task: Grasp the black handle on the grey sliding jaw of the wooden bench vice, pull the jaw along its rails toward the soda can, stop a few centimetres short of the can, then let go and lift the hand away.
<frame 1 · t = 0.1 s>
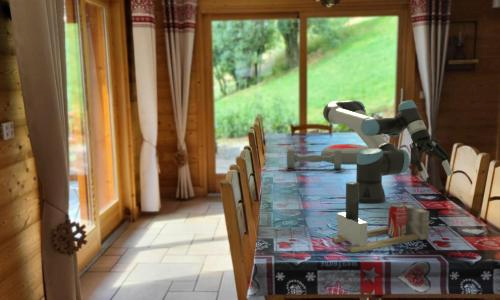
hand: (438, 176, 194), 15 cm above the table, tool tilted 35°, fingers open, 13 cm apart
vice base: (379, 239, 165), on the table
vice jaw: (352, 212, 158), point 12 cm above the table, slide at 0.0 cm
soda can: (396, 236, 168), resting in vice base
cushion: (347, 159, 322), on the table
dumbbell: (314, 168, 291), on the table
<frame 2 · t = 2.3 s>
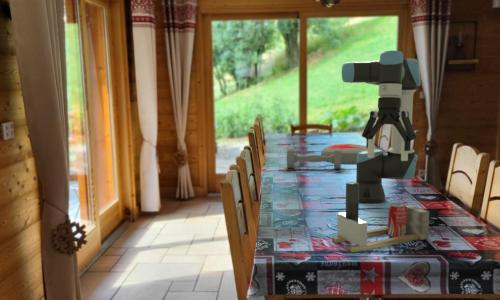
hand: (386, 159, 158), 30 cm above the table, tool pointing down, fingers open, 13 cm apart
nothing on the table moved.
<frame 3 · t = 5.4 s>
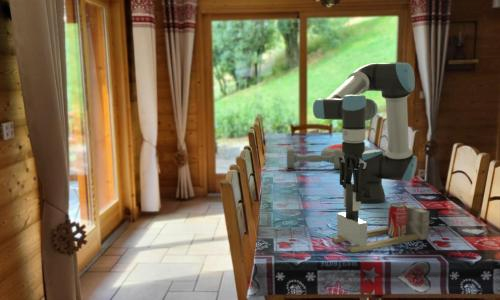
hand: (352, 208, 158), 13 cm above the table, tool pointing down, fingers closed on vice jaw, 4 cm apart
vice jaw: (352, 212, 158), point 12 cm above the table, slide at 0.0 cm, touching gripper
everything else where it was.
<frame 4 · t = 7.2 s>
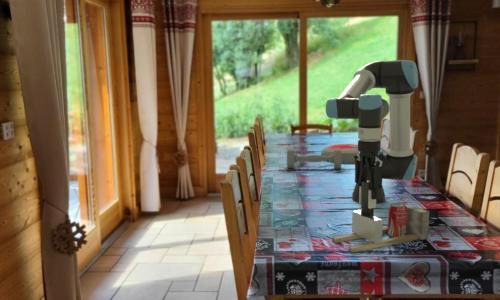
hand: (367, 205, 161), 13 cm above the table, tool pointing down, fingers closed on vice jaw, 4 cm apart
vice jaw: (367, 209, 161), point 12 cm above the table, slide at 6.4 cm, touching gripper
everything else where it was.
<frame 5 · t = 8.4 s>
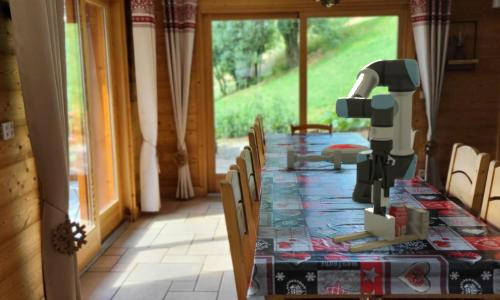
hand: (379, 203, 163), 13 cm above the table, tool pointing down, fingers closed on vice jaw, 4 cm apart
vice jaw: (379, 207, 163), point 12 cm above the table, slide at 11.7 cm, touching gripper
everything else where it was.
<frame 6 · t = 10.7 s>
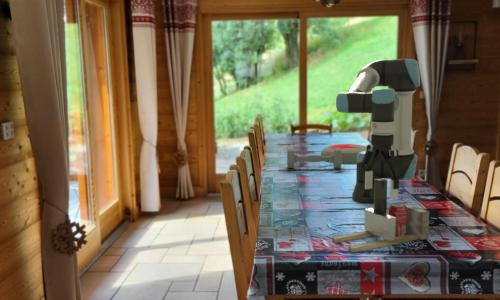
hand: (380, 193, 163), 17 cm above the table, tool pointing down, fingers open, 13 cm apart
vice jaw: (380, 207, 163), point 12 cm above the table, slide at 12.0 cm
everything else where it was.
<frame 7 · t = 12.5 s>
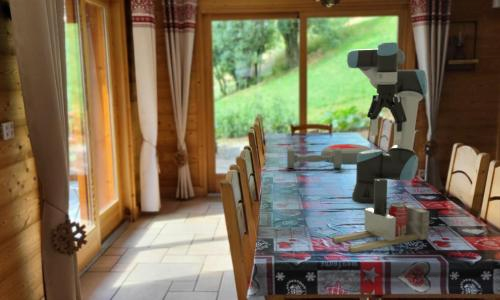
hand: (385, 137, 182), 34 cm above the table, tool pointing down, fingers open, 13 cm apart
nothing on the table moved.
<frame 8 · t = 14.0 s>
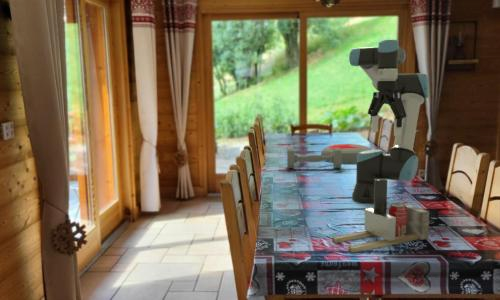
hand: (385, 133, 185), 35 cm above the table, tool pointing down, fingers open, 13 cm apart
nothing on the table moved.
at the end: vice jaw slide at 12.0 cm; soda can moved 0.2 cm from its start; the gripper is holding nothing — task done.
